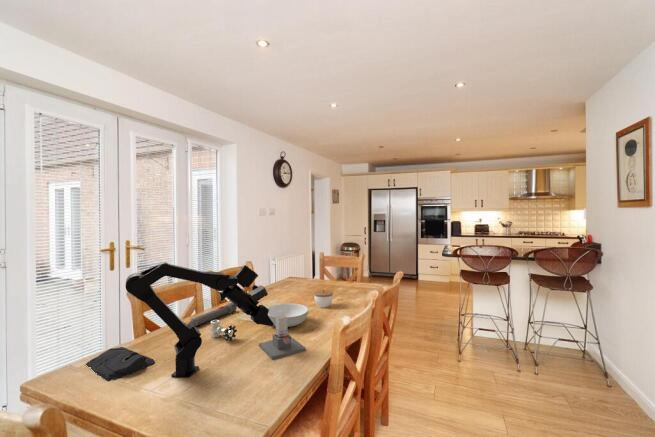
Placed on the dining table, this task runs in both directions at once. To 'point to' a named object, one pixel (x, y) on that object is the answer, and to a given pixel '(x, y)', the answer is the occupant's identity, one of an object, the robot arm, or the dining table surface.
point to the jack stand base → (281, 346)
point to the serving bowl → (288, 313)
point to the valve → (222, 330)
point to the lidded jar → (323, 298)
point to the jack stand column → (281, 326)
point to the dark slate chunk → (118, 363)
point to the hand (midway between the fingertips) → (268, 321)
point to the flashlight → (213, 314)
